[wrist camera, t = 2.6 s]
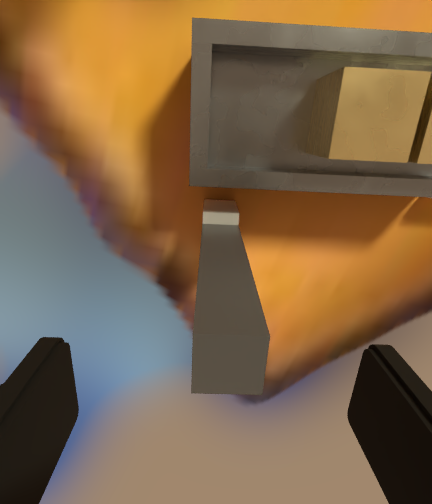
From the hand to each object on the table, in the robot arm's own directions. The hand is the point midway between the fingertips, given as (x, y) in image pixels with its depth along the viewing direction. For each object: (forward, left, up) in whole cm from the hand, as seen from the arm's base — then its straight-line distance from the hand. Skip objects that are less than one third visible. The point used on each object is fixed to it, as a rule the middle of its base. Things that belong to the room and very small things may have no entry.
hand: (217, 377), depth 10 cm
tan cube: (-7, -8, -12) cm, 16 cm away
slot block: (-7, -8, -16) cm, 20 cm away
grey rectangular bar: (0, 0, -16) cm, 16 cm away
